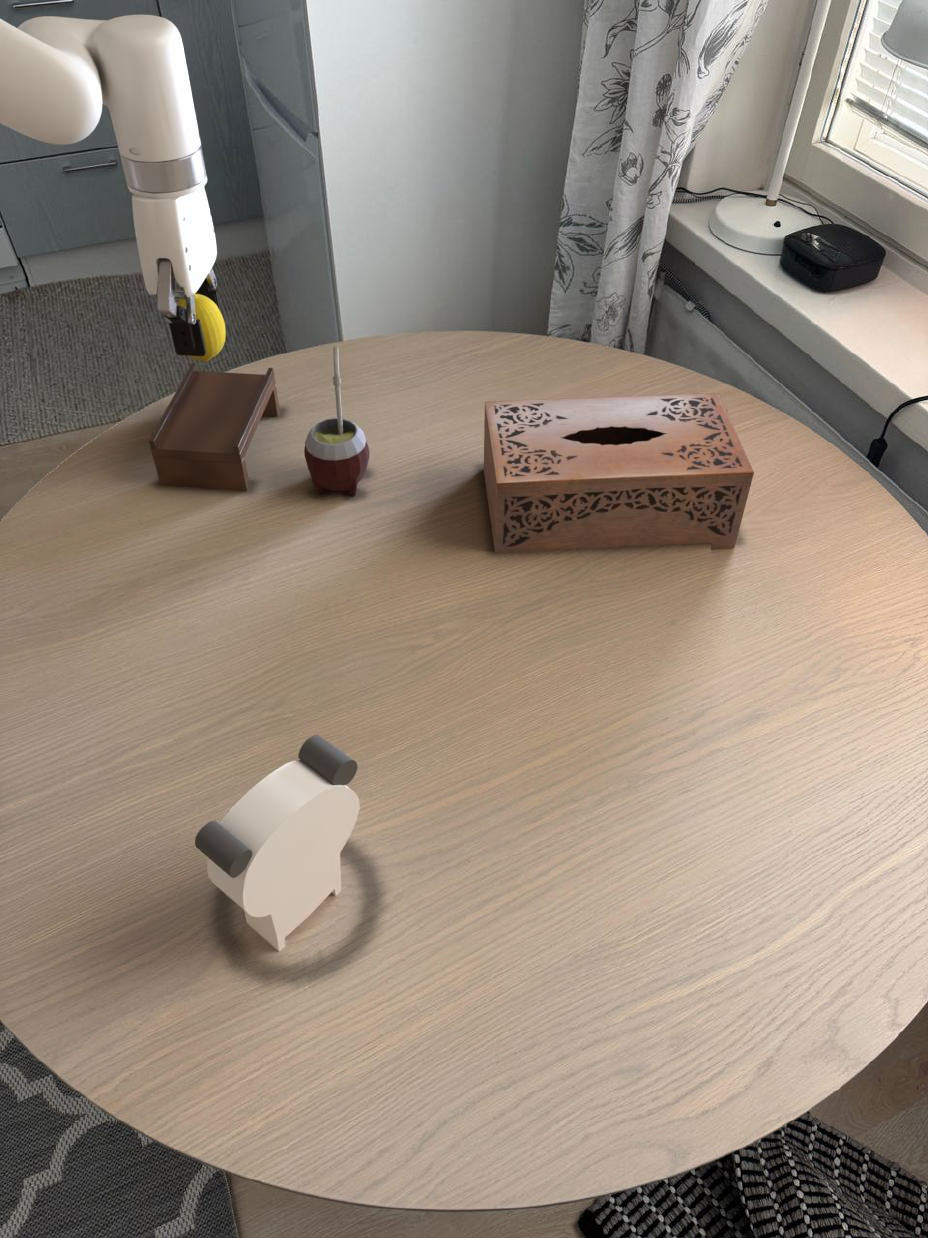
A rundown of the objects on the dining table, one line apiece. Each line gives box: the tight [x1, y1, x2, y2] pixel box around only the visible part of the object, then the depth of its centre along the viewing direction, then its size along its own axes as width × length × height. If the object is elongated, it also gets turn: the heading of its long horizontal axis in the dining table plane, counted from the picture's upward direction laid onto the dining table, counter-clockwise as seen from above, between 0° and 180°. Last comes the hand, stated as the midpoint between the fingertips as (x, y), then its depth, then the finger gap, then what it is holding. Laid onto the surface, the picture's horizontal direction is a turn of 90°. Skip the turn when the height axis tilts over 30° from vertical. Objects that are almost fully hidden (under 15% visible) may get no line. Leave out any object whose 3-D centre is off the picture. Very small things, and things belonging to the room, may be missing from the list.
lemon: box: [176, 294, 226, 363], centre depth 107 cm, size 6×6×8 cm
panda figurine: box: [194, 734, 361, 952], centre depth 72 cm, size 12×11×15 cm
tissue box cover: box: [483, 392, 755, 553], centre depth 107 cm, size 26×14×10 cm, turn 94°
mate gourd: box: [303, 345, 370, 497], centre depth 108 cm, size 8×8×15 cm
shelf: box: [148, 362, 281, 492], centre depth 116 cm, size 10×16×7 cm, turn 174°
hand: (200, 337), depth 108 cm, fingers closed on lemon, 5 cm apart
